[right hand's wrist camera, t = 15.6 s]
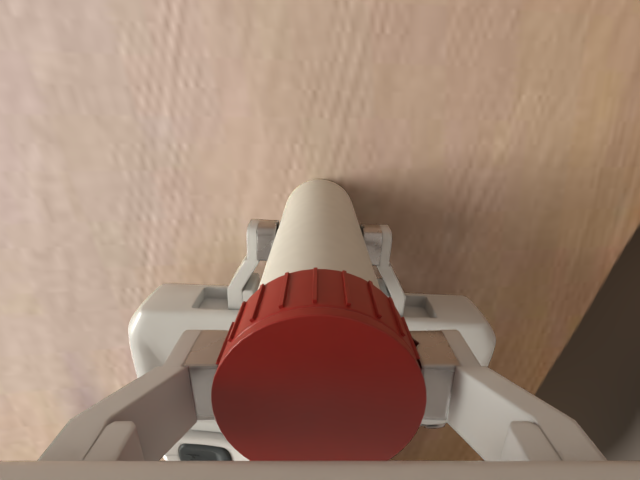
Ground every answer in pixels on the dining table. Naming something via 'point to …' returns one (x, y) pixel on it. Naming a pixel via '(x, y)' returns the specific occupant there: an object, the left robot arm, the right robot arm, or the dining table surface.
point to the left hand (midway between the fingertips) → (319, 224)
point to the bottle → (319, 234)
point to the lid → (318, 372)
